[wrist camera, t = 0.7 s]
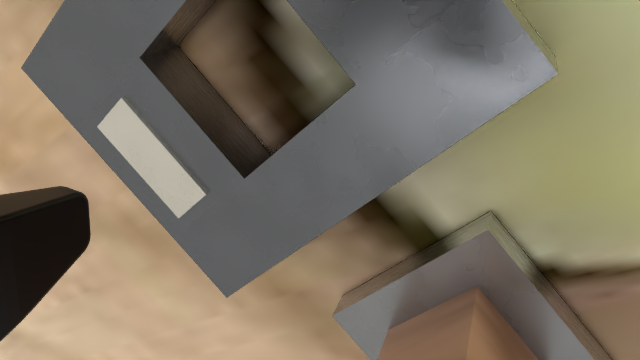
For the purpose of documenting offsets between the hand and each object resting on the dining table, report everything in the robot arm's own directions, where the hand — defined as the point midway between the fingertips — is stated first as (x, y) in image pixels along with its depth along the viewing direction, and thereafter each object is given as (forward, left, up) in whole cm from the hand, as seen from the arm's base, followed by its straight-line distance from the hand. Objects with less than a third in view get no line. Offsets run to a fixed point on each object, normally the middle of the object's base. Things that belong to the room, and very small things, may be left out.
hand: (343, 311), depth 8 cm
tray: (-9, +6, -13) cm, 17 cm away
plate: (+5, +5, -13) cm, 15 cm away
